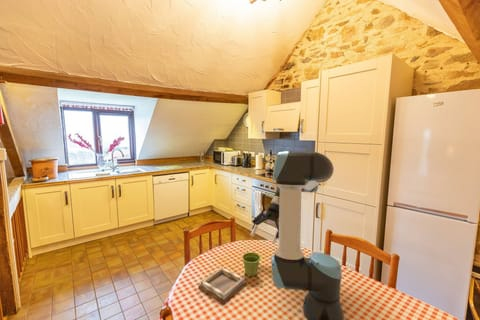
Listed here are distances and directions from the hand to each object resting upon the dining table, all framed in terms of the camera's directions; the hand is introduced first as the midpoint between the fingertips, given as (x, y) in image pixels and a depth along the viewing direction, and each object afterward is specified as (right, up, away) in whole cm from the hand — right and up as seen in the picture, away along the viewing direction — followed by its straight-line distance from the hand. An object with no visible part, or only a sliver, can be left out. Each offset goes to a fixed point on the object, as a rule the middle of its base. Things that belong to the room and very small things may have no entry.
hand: (262, 239), depth 122 cm
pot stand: (-20, -16, -16) cm, 31 cm away
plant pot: (-6, -15, -6) cm, 18 cm away
